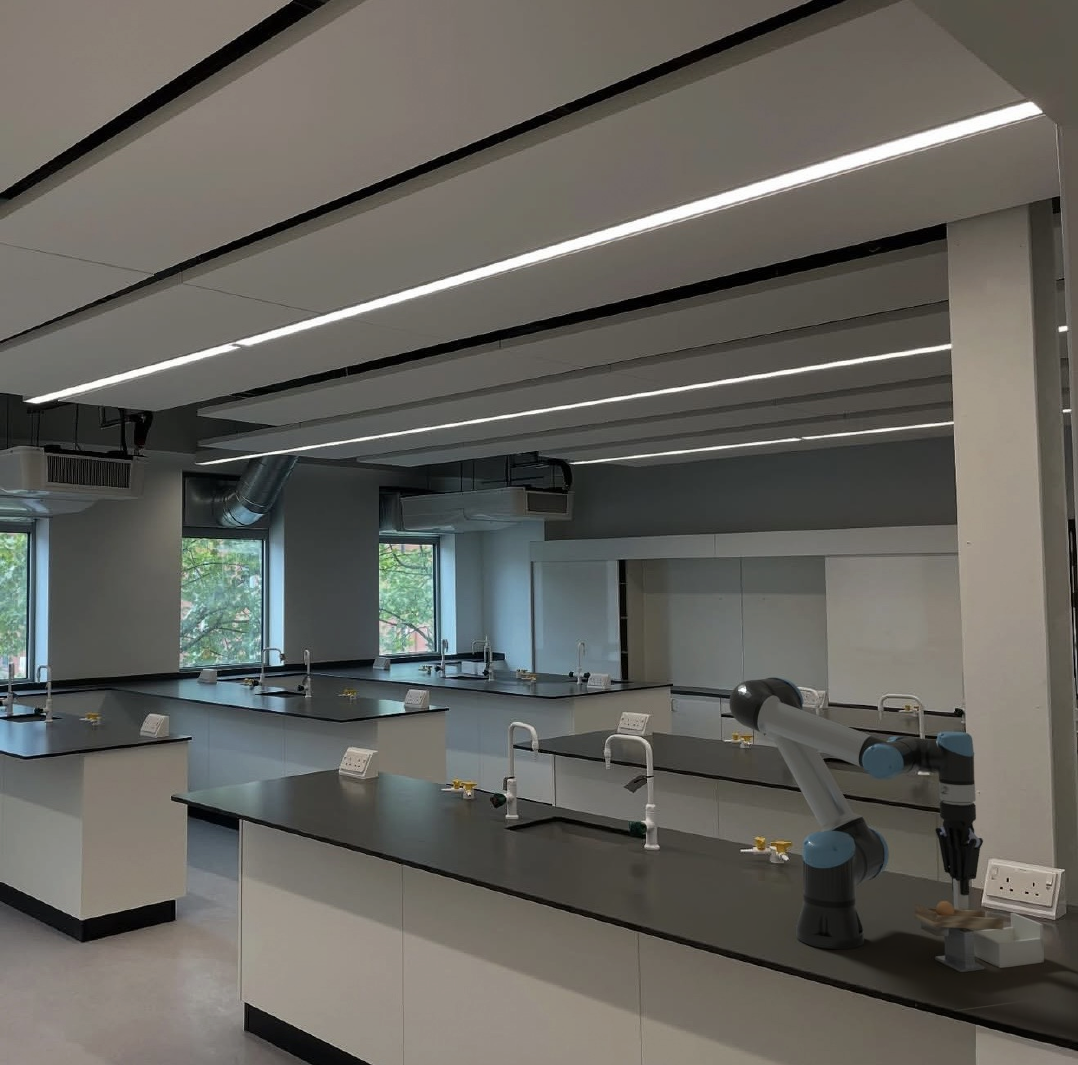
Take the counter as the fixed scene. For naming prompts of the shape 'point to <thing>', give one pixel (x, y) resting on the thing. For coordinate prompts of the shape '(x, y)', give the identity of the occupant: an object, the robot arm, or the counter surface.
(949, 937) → the fulcrum
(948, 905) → the ball
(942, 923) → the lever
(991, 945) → the grey open bin
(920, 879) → the counter surface
